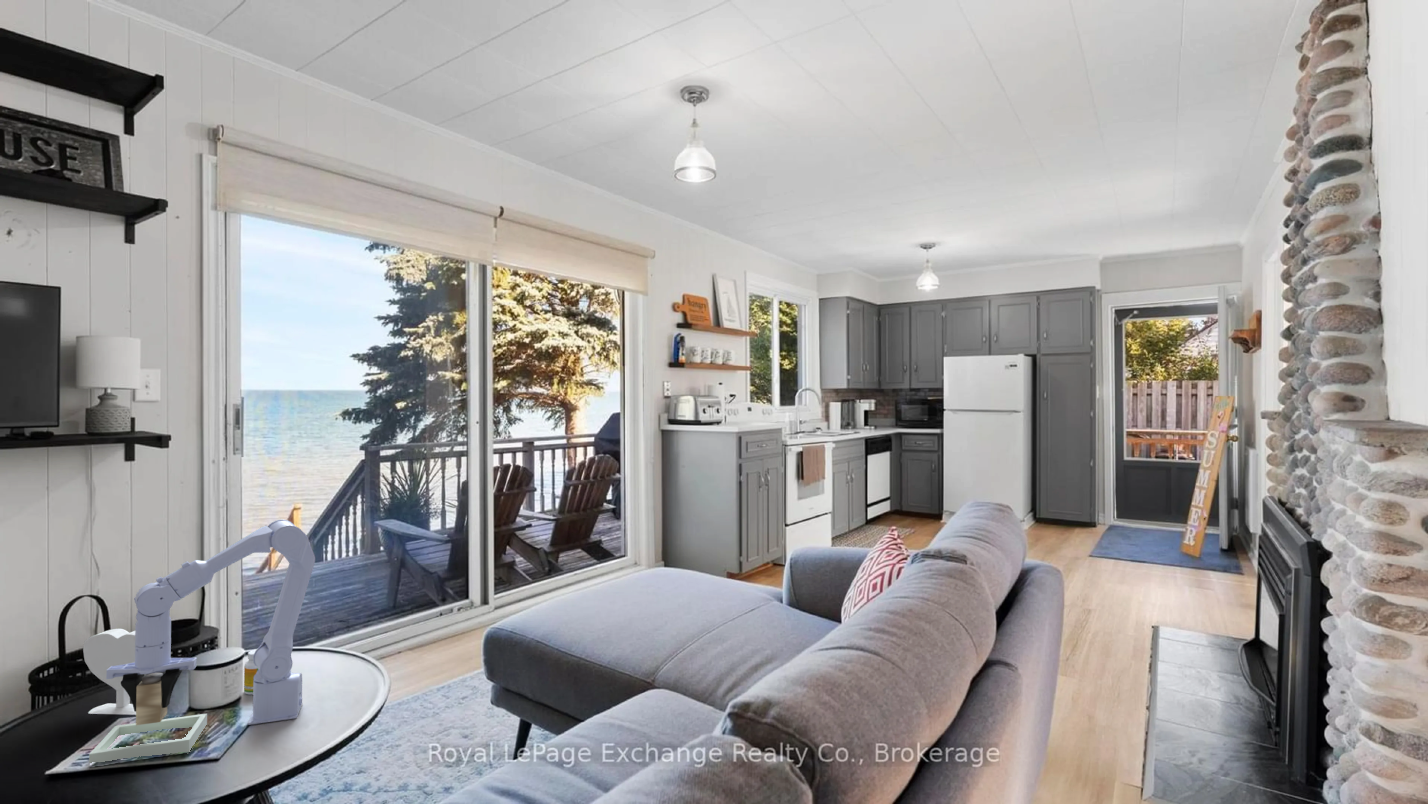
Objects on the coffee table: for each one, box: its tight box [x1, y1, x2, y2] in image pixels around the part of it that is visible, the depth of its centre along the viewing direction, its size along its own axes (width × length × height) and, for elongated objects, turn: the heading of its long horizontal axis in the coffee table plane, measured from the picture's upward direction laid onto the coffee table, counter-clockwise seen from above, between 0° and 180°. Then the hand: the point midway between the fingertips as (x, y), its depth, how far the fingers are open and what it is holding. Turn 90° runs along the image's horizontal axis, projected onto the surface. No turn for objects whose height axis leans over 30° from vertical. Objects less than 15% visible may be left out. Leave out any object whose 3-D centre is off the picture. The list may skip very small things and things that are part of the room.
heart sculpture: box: [82, 628, 146, 716], centre depth 156 cm, size 16×5×18 cm, turn 90°
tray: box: [88, 713, 208, 764], centre depth 140 cm, size 16×12×3 cm
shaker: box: [135, 672, 168, 725], centre depth 140 cm, size 4×4×9 cm
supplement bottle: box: [243, 648, 258, 695], centre depth 167 cm, size 5×5×10 cm
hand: (152, 707), depth 140 cm, fingers closed on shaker, 4 cm apart
